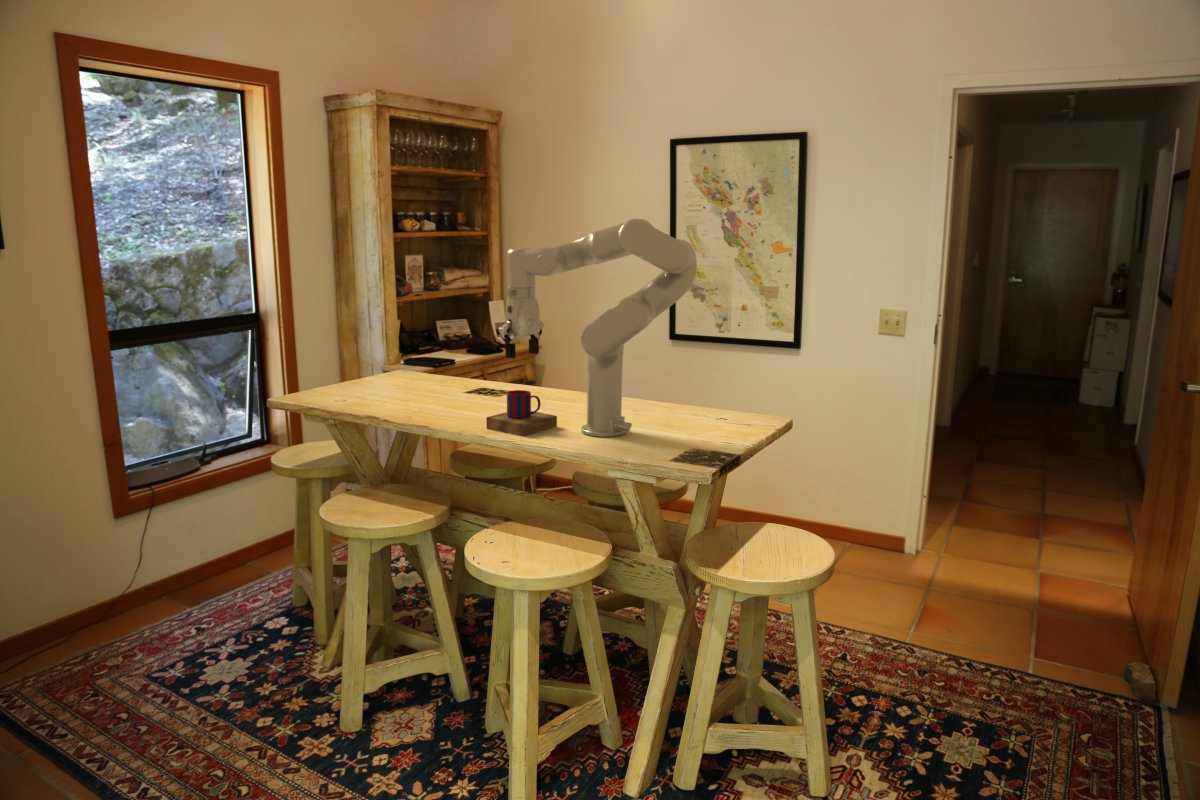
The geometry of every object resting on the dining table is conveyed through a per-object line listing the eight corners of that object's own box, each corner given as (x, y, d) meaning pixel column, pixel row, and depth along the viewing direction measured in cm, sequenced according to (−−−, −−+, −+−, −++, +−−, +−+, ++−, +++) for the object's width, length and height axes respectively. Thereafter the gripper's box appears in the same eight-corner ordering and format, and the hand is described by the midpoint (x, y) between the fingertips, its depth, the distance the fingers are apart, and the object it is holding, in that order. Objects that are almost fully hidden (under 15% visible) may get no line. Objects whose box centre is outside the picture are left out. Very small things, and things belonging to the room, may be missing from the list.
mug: (516, 412, 242) (516, 389, 241) (545, 416, 237) (545, 393, 236) (502, 416, 236) (502, 392, 235) (531, 421, 232) (531, 396, 230)
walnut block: (556, 429, 240) (556, 415, 239) (524, 439, 228) (523, 424, 228) (520, 422, 248) (519, 408, 247) (486, 431, 237) (486, 417, 236)
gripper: (510, 296, 222) (511, 360, 226) (552, 292, 236) (552, 353, 239) (489, 295, 226) (491, 358, 230) (531, 291, 240) (532, 350, 244)
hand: (522, 355), depth 235 cm, fingers open, 9 cm apart
